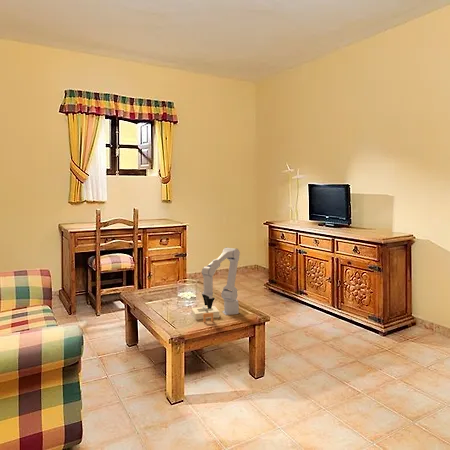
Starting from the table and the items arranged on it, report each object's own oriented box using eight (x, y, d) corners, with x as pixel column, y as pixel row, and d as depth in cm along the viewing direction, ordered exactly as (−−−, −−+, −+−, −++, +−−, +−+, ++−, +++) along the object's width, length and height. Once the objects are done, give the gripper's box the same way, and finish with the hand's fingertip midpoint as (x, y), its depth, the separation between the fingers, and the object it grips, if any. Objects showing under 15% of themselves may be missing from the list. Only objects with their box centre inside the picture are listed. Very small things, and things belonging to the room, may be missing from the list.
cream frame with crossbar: (214, 311, 270) (214, 303, 269) (219, 317, 258) (219, 308, 258) (191, 313, 265) (191, 305, 265) (195, 319, 254) (195, 311, 253)
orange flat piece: (212, 321, 251) (212, 312, 251) (213, 321, 250) (213, 313, 250) (203, 321, 250) (203, 313, 249) (203, 322, 249) (203, 314, 248)
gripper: (199, 283, 254) (199, 304, 255) (204, 288, 240) (204, 310, 241) (209, 282, 256) (209, 303, 257) (215, 288, 242) (215, 309, 243)
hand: (208, 306), depth 249 cm, fingers open, 7 cm apart
